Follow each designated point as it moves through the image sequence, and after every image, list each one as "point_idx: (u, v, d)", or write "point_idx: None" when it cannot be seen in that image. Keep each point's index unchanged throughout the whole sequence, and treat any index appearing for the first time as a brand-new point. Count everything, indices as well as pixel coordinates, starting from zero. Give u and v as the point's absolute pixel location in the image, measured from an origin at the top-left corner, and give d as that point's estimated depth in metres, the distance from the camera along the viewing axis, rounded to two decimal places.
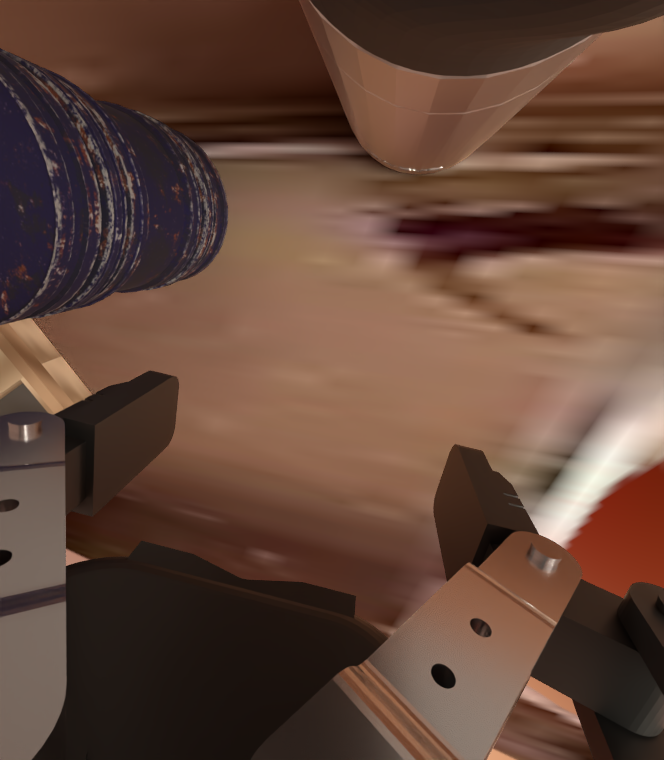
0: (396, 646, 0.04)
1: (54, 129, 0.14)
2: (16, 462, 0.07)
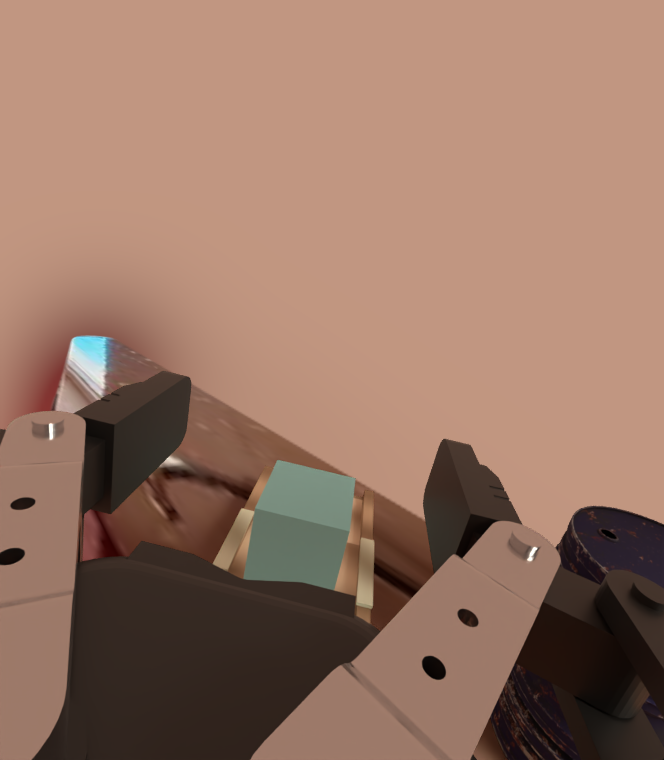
0: (387, 641, 0.04)
1: None
2: (37, 460, 0.07)
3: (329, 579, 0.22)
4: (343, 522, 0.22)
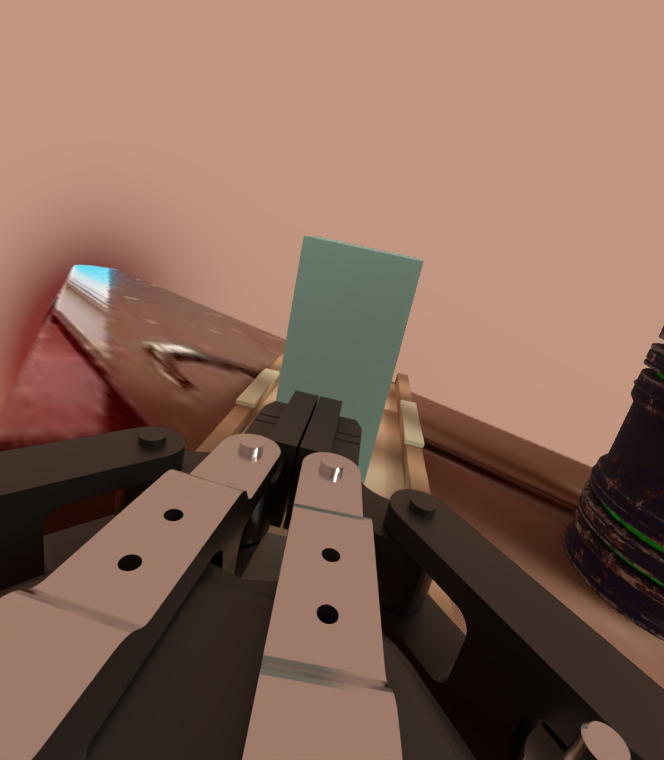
0: (281, 615, 0.04)
1: None
2: (224, 477, 0.07)
3: (393, 337, 0.18)
4: (413, 259, 0.17)
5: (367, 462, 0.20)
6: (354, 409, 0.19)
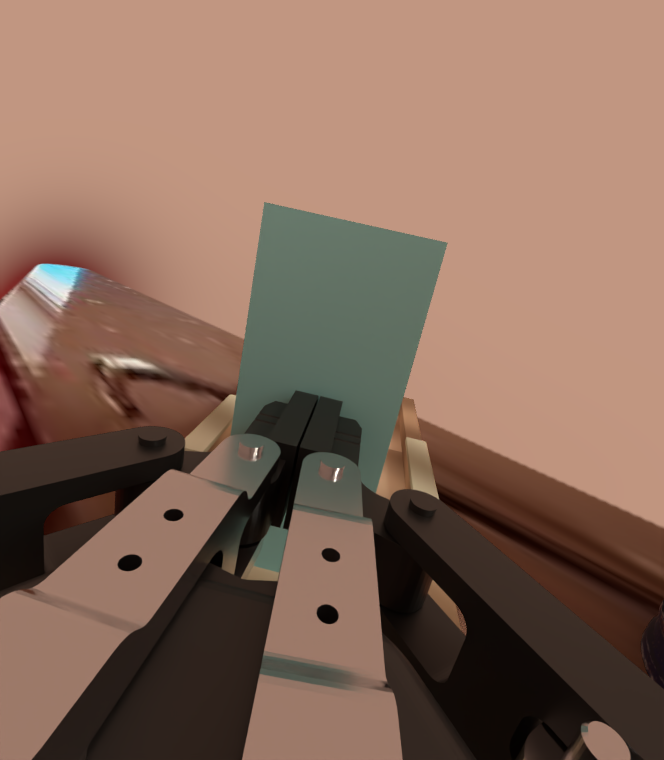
0: (281, 615, 0.04)
1: None
2: (223, 477, 0.07)
3: (400, 358, 0.12)
4: None
5: None
6: None
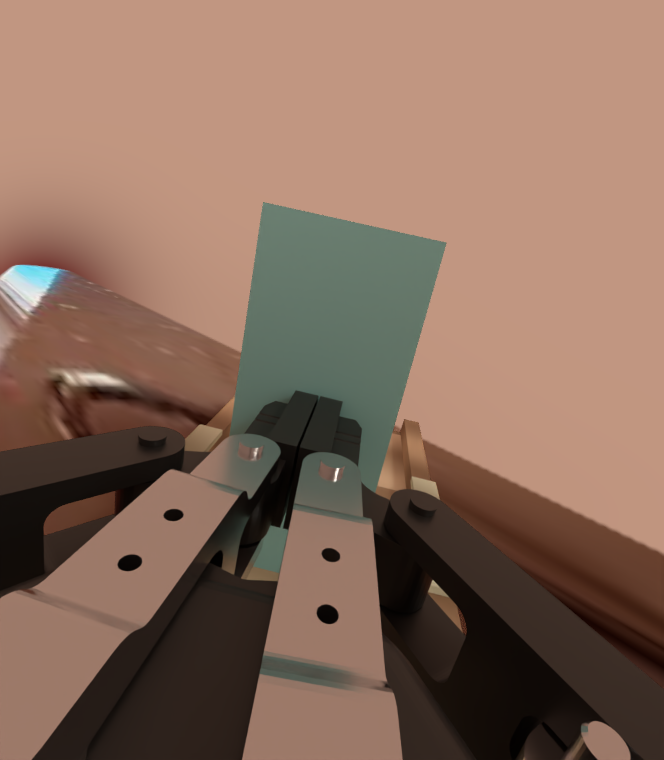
0: (281, 616, 0.04)
1: None
2: (224, 477, 0.07)
3: (399, 358, 0.12)
4: None
5: None
6: None
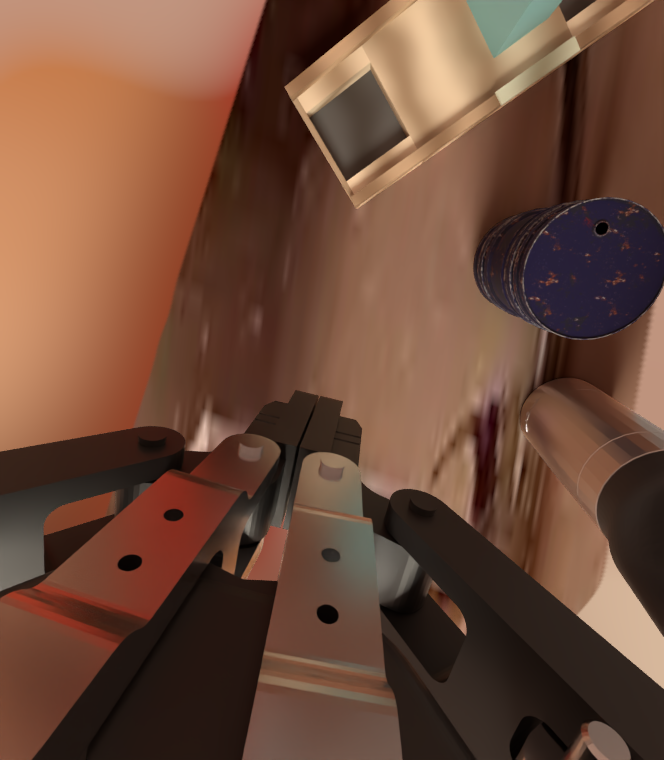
0: (281, 615, 0.04)
1: None
2: (223, 477, 0.07)
3: None
4: None
5: (501, 44, 0.34)
6: (503, 13, 0.31)
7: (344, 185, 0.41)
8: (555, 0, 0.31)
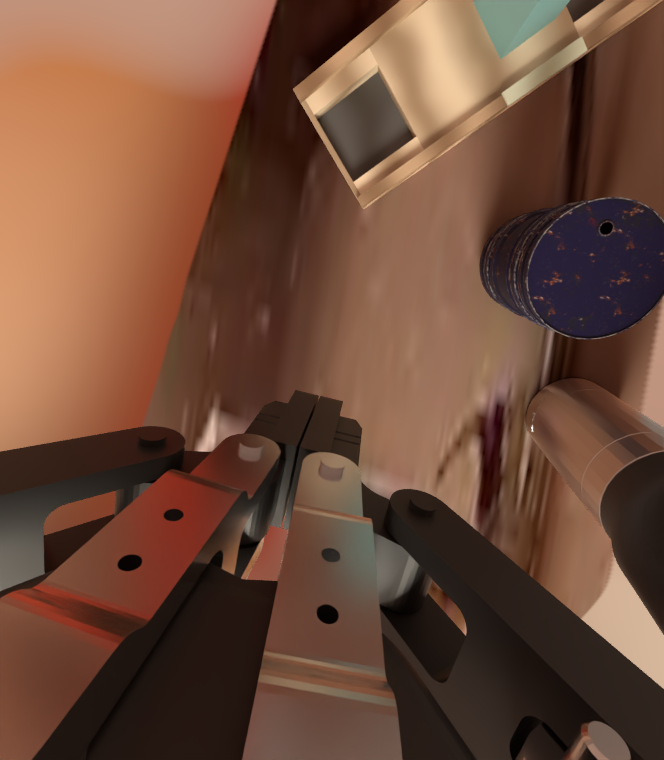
0: (281, 616, 0.04)
1: None
2: (223, 477, 0.07)
3: (532, 0, 0.28)
4: None
5: (508, 45, 0.34)
6: (510, 14, 0.32)
7: (351, 186, 0.41)
8: (562, 1, 0.32)
